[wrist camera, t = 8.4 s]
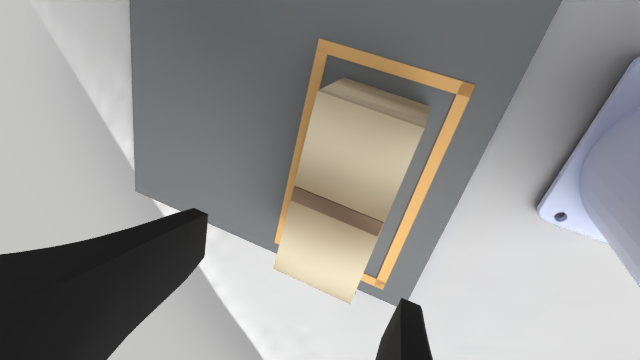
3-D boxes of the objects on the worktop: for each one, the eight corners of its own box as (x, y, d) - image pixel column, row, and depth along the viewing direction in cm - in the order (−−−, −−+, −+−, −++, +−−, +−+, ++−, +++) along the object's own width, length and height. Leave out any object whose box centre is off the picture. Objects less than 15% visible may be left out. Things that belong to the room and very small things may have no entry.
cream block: (366, 258, 21) (350, 304, 18) (301, 230, 22) (273, 269, 19) (430, 106, 17) (424, 128, 13) (343, 77, 17) (317, 90, 14)
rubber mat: (587, -58, 13) (594, -62, 12) (404, 302, 22) (402, 310, 22) (134, -153, 17) (123, -159, 16) (141, 187, 26) (134, 191, 26)
